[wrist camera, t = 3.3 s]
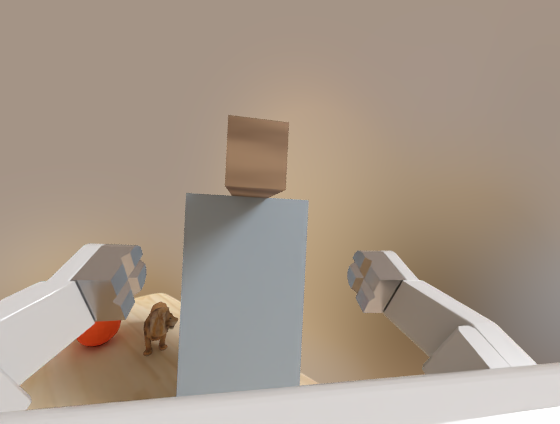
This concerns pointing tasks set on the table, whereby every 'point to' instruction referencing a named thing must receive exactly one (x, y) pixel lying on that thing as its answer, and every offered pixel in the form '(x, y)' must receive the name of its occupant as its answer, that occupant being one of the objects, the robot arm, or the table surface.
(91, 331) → the clementine
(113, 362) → the table surface
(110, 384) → the table surface
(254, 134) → the bar
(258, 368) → the stand
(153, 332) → the lion figurine
